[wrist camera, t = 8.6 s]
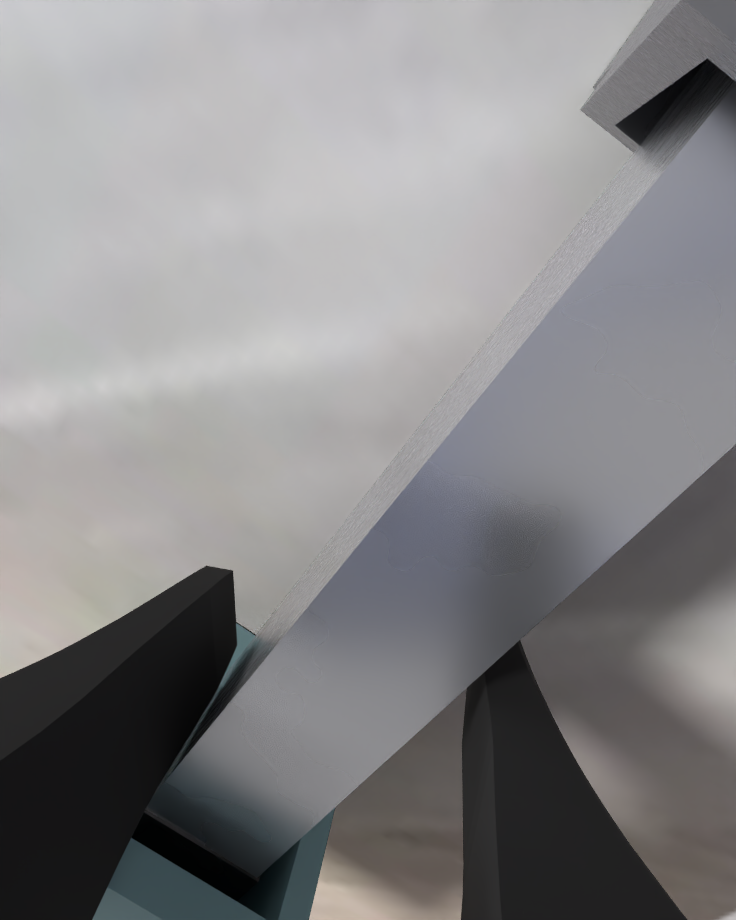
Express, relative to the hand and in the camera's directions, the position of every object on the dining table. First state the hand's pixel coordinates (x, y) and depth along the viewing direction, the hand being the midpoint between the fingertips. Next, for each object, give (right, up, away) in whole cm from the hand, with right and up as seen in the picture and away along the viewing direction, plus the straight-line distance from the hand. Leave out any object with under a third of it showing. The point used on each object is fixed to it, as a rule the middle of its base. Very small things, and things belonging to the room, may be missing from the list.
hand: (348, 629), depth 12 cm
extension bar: (+2, +2, -1) cm, 3 cm away
